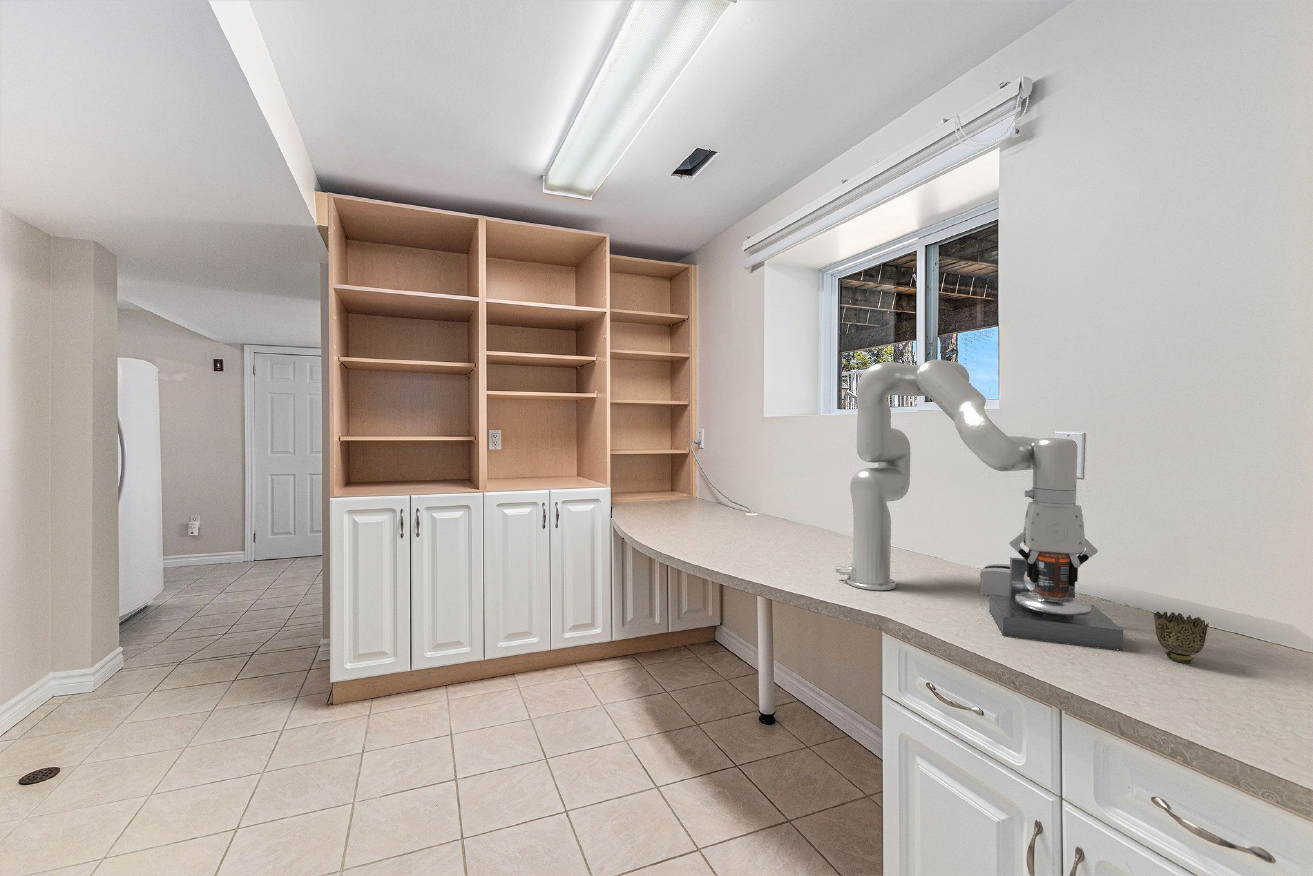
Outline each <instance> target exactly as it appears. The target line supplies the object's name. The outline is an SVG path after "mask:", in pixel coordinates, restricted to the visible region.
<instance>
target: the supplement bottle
mask: <svg viewBox="0 0 1313 876" xmlns="http://www.w3.org/2000/svg"><path fill="white" fill-rule="evenodd" d="M1035 563H1036V564H1037V582H1036V583H1035V592H1036V593H1038V594H1040V595H1043V596H1047V597H1054V598H1065V597H1067V596H1068V595H1069V555H1068V554H1060V553H1047V552H1039V554H1038V556H1037V558H1036V560H1035Z"/></svg>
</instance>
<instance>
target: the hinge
mask: <svg viewBox="0 0 1313 876" xmlns="http://www.w3.org/2000/svg"><path fill="white" fill-rule="evenodd" d="M979 581H980V585H979V586H980V594H981V593H982V594H981V595H985V596H988V595H989V594H991V595H1001V596H1009V585H1010V563H1009V564H1005V563H997V564H996V563H994V564H988V565H986V566H984V568H982V569H981V570H980V572H979Z"/></svg>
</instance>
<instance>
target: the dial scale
mask: <svg viewBox="0 0 1313 876" xmlns="http://www.w3.org/2000/svg"><path fill="white" fill-rule="evenodd" d="M1009 565H1010V585H1009V596H1001V595H991V594H989V596H988V599H989V600H988V601H989V602H988V612H989V613H990V616H991V615H992V616H991V617H993V618H992V619H993V621H994V622H995V625H996V624H997V625H996V626H997V628H998V630H999V632H1000V634H1001V633H1002V634H1001V635H1002V636H1003V637H1008V636H1012V637H1011V638H1016V637H1018V639H1024V638H1027V639H1026V640H1032V639H1034V641H1040V640H1043V641H1042V642H1048V643H1049V642H1050V643H1056V644H1064V643H1067V644H1066V645H1072V644H1073V646H1080V645H1084V646H1083V647H1088V646H1089V648H1090V647H1091V648H1096V647H1099V649H1104V648H1105V649H1106V650H1113V649H1115V650H1114V651H1121V650H1123V651H1124V629H1123V628H1121V626H1119V625H1118V624H1117V623H1116V622H1115V621H1113V620H1112V619H1111V618H1110V617H1109V616H1107V614H1105V613H1104V612H1103V611H1101V610H1100V608H1098V607H1097V606H1095V604H1090V603H1088V602H1086V601H1084V600H1081V599H1079V598H1075V597H1076V585H1075V586H1074V587H1073V586H1070V585H1069V595H1068V596H1067V597H1065V598H1054V597H1047V596H1043V595H1040V594H1038V593H1036V592H1035V583H1032V582H1031V580H1030V578H1029V577H1027V561H1026V560H1025V559H1024V558H1023V557H1021V558H1020V557H1011V556H1010V557H1009ZM1057 642H1058V643H1057ZM1068 643H1069V644H1068ZM1117 649H1118V650H1117Z"/></svg>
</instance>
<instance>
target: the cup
mask: <svg viewBox="0 0 1313 876" xmlns="http://www.w3.org/2000/svg"><path fill="white" fill-rule="evenodd" d="M1153 619H1154V628H1155V634H1156V638H1157V642H1158V643H1159V645H1160V646H1161V647H1162V648H1163V649H1165V650H1166V652H1165V655H1166V658H1168V659H1170V661H1173V662H1177V663H1182V664H1190V663H1192V662H1193V660H1194V657H1193V656H1194V655H1198V654H1199V653H1201V652H1202V650H1203V649H1204V646H1205V642H1206V638H1207V634H1208V633H1207V632H1208V628H1209V622H1207V623H1206V620H1204V619H1202V618H1201V617H1199V616H1196V617H1193V618H1192V616H1191V614H1188V615H1187V616H1186V618H1185V616H1183V614H1182V613H1180V612H1179V613H1177V614H1176V613H1175V612H1174V611H1172V612H1171V613H1169V614H1168V611H1164V612H1163V614H1162V612H1160V611H1159V610H1157V611H1156V612H1153Z"/></svg>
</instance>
